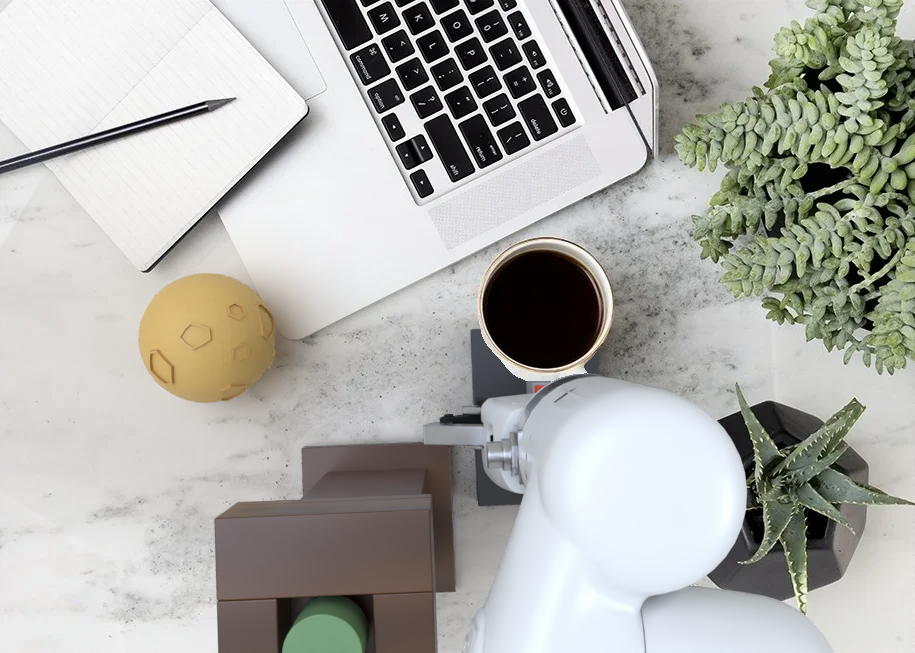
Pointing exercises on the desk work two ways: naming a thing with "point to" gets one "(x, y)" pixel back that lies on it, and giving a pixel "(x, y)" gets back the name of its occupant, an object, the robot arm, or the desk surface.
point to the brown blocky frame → (326, 569)
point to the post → (389, 485)
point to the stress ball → (207, 338)
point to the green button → (328, 628)
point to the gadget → (493, 383)
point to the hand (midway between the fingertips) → (547, 416)
